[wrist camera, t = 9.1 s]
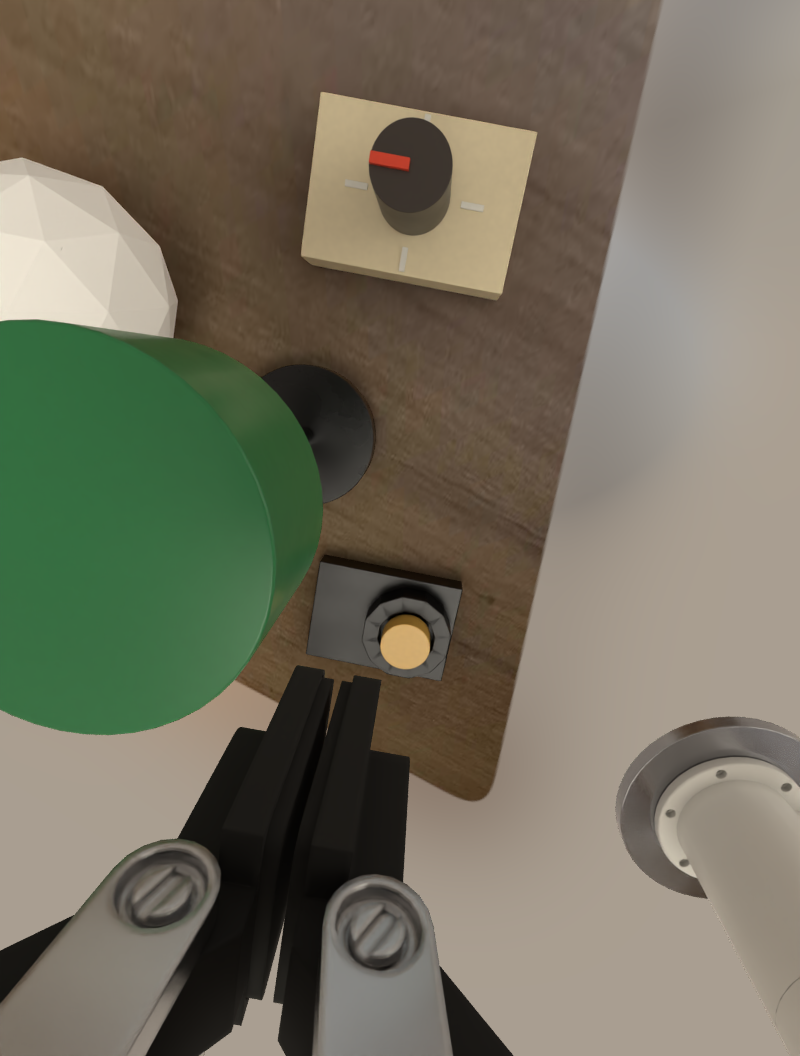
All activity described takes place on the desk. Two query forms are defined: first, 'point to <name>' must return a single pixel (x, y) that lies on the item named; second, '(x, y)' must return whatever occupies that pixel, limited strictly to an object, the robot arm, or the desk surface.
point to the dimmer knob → (412, 175)
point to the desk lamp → (154, 516)
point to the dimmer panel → (460, 238)
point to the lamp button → (405, 641)
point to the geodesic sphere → (77, 255)
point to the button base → (379, 613)
